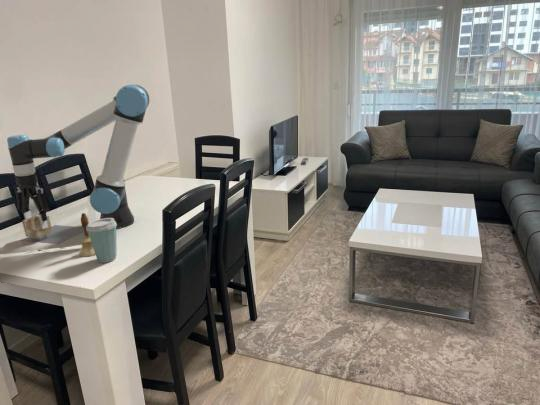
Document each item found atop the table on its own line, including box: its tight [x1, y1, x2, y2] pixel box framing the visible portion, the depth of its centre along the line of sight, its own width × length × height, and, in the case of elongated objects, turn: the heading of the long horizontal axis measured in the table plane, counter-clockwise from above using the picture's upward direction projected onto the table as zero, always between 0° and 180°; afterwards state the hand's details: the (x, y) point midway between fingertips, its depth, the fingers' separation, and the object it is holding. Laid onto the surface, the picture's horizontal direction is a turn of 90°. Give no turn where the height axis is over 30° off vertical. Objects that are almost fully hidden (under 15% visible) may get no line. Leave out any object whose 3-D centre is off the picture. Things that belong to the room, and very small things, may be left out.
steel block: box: [32, 234, 47, 241], centre depth 178 cm, size 4×4×8 cm
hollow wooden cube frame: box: [22, 214, 52, 238], centre depth 177 cm, size 7×7×7 cm
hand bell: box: [78, 212, 96, 258], centre depth 163 cm, size 8×8×16 cm
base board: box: [20, 224, 84, 245], centre depth 183 cm, size 20×19×2 cm
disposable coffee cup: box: [86, 218, 117, 263], centre depth 156 cm, size 11×11×15 cm
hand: (37, 227), depth 177 cm, fingers closed on hollow wooden cube frame, 7 cm apart
